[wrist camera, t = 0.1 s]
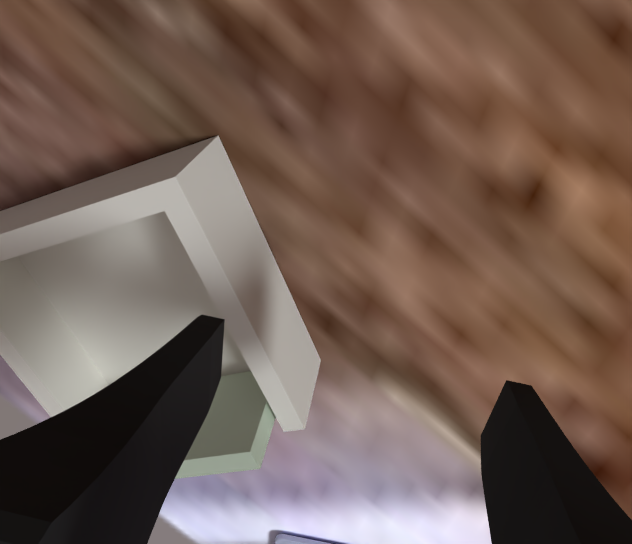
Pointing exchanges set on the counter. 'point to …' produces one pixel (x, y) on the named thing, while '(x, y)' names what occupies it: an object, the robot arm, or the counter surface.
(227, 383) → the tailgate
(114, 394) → the robot arm
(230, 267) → the white open tray
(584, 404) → the counter surface
